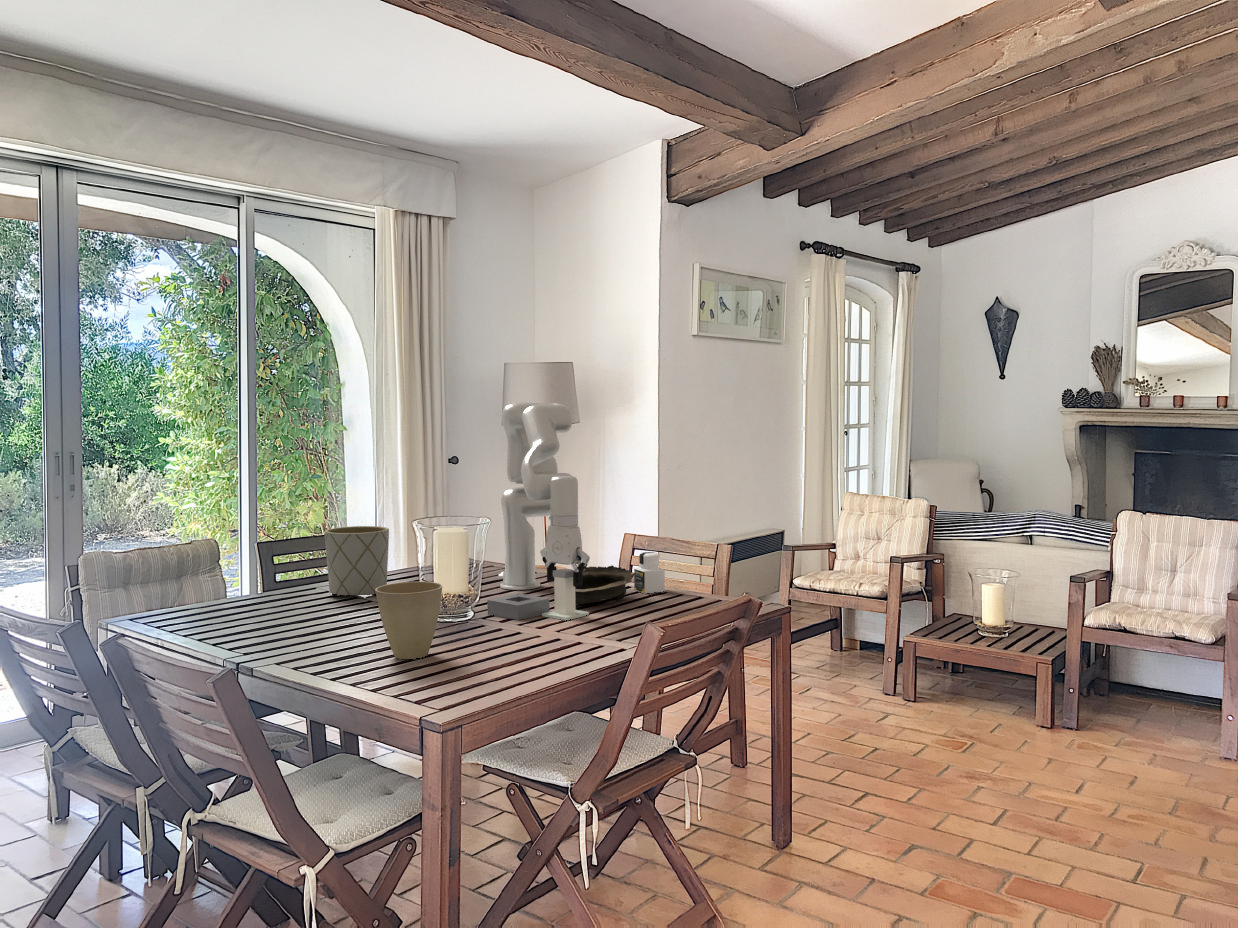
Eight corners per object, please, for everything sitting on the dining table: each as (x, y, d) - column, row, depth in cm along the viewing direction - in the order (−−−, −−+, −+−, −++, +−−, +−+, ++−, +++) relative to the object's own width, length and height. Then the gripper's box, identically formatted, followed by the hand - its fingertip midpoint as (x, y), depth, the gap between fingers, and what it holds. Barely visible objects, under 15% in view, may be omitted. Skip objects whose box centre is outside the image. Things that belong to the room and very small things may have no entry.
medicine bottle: (633, 590, 300) (633, 551, 299) (654, 588, 303) (654, 550, 302) (644, 594, 294) (643, 554, 293) (665, 592, 296) (664, 553, 296)
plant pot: (415, 645, 231) (414, 578, 230) (457, 654, 222) (455, 585, 221) (363, 657, 220) (361, 588, 219) (404, 668, 210) (403, 595, 210)
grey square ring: (487, 614, 266) (487, 599, 266) (519, 607, 275) (518, 593, 275) (518, 620, 258) (518, 605, 258) (549, 612, 267) (549, 598, 267)
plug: (553, 612, 263) (552, 570, 263) (564, 610, 267) (564, 568, 266) (565, 615, 260) (565, 572, 260) (577, 612, 264) (576, 570, 263)
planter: (313, 598, 291) (311, 532, 290) (348, 587, 309) (347, 525, 308) (369, 601, 285) (367, 534, 284) (401, 589, 304) (400, 526, 303)
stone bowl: (637, 593, 294) (637, 563, 293) (630, 616, 270) (630, 584, 268) (557, 591, 297) (556, 561, 295) (542, 614, 272) (542, 582, 271)
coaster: (542, 616, 263) (542, 613, 263) (564, 610, 270) (564, 607, 270) (566, 620, 257) (566, 617, 257) (588, 614, 264) (588, 611, 264)
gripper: (531, 520, 265) (532, 581, 266) (578, 525, 254) (578, 589, 255) (550, 517, 271) (551, 578, 272) (597, 522, 260) (597, 585, 261)
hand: (564, 583), depth 263 cm, fingers open, 9 cm apart
